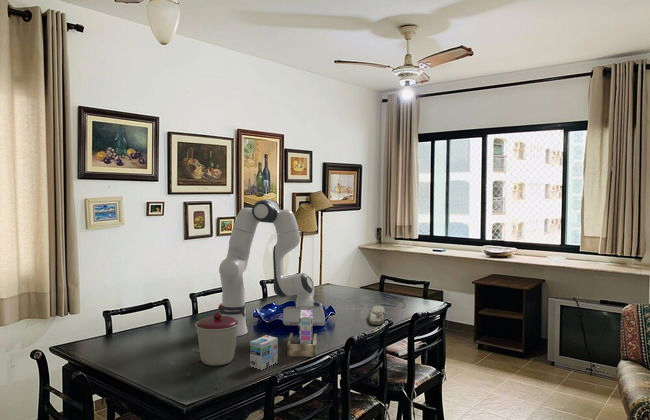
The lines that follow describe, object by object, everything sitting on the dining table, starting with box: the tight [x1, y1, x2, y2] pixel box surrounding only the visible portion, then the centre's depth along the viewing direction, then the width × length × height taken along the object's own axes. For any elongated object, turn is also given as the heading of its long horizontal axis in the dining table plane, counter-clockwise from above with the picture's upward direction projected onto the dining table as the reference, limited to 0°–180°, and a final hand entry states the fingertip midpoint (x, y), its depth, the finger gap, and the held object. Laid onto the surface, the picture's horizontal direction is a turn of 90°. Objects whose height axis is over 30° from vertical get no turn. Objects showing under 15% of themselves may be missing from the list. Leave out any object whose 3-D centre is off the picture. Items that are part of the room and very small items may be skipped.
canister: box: [194, 311, 239, 367], centre depth 200 cm, size 18×18×21 cm
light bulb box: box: [249, 334, 279, 371], centre depth 197 cm, size 11×7×11 cm, turn 148°
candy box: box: [298, 310, 313, 344], centre depth 217 cm, size 14×6×16 cm, turn 0°
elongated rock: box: [367, 305, 387, 326], centre depth 271 cm, size 35×5×10 cm
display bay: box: [286, 332, 318, 358], centre depth 216 cm, size 12×17×5 cm
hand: (303, 332), depth 225 cm, fingers closed
